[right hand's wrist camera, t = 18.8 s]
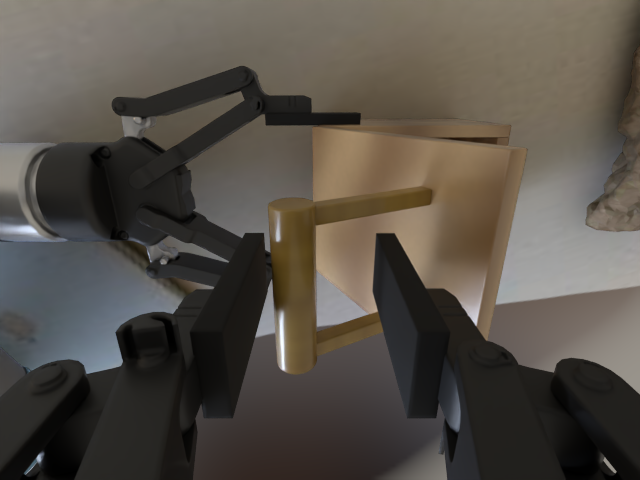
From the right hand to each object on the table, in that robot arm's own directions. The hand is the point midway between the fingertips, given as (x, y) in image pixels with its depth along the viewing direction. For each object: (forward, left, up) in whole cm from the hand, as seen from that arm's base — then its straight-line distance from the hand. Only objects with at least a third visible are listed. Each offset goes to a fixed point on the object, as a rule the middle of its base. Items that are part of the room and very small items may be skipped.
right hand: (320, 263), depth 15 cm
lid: (-4, 0, -5) cm, 6 cm away
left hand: (-3, 0, -13) cm, 14 cm away
